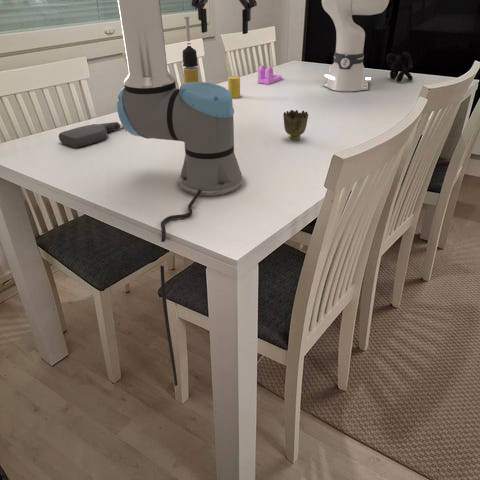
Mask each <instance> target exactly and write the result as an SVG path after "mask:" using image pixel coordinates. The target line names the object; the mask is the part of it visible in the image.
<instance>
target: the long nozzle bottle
mask: <svg viewBox="0 0 480 480" xmlns="http://www.w3.org/2000/svg"><path fill="white" fill-rule="evenodd" d="M183 18H184V20H185V21H184V22H185V32H186V34H185V35H186V37H185V38H186V42H188V43H186V45H187V46H186V47H185V48H184V49H183V50H182V53H181V54H182V66H183V79H184V84H185V83H189V82H200V81H199V68H198V66H199V64H198V55H197V50H196V49H195V48H193V47H192V46H191V44H192V43H189V42H191V34H190V33H191V32H190V19H191V17H190V16H184V17H183Z"/></svg>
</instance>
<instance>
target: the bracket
mask: <svg viewBox="0 0 480 480" xmlns="http://www.w3.org/2000/svg"><path fill="white" fill-rule="evenodd" d="M282 79H283V76H282V75H281V74H274V68H273V66H265V65H259V67H258V69H257V83H258V84H265V85H270V84H273V83H276V82H279V81H281V80H282Z"/></svg>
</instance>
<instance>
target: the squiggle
mask: <svg viewBox="0 0 480 480" xmlns="http://www.w3.org/2000/svg"><path fill="white" fill-rule="evenodd" d="M401 57H402V59H401ZM391 59H392V60H391ZM393 60H394V61H393ZM385 61H386V64H387V67H390V68H391V70H390V72H389V78H390V79H391V80H395V79H396V81H397V82H399V83H400V82H402V81H403V79H404V76H406V78H407V80H408V81H412V80H413V79H414V77H413V75H412V74H411V73H410V72H409V71H410V70H412V69H413V68H414V64H413V61H412V57H411V54H410V53H409V52H408V51H403V53H402V54H401V55H396V54H394V53H392V52H390V53H387V55H386V57H385ZM406 62H407V65H408V66H407V67H405V66H404V65H405V64H406ZM400 70H401V71H400Z"/></svg>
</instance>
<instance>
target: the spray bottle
mask: <svg viewBox="0 0 480 480" xmlns="http://www.w3.org/2000/svg"><path fill="white" fill-rule="evenodd" d="M121 128H124V127H123V125H122V123H121V121H120V120H118V121H112V122H105V123H104V122H103V123H93V124H87V125H82V126H78V127H75V128H71V129H68V130H64V131H61V132H60V133H59V134H58V139H59V141H60V143H61V144H64V145H67V146H70V147H72V148H80V147H85V146H89V145H92V144H95V143H99V142H101V141H103V140H105V139H106V138H107V136H108V133H109V132H113V131H116V130H120V129H121Z"/></svg>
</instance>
